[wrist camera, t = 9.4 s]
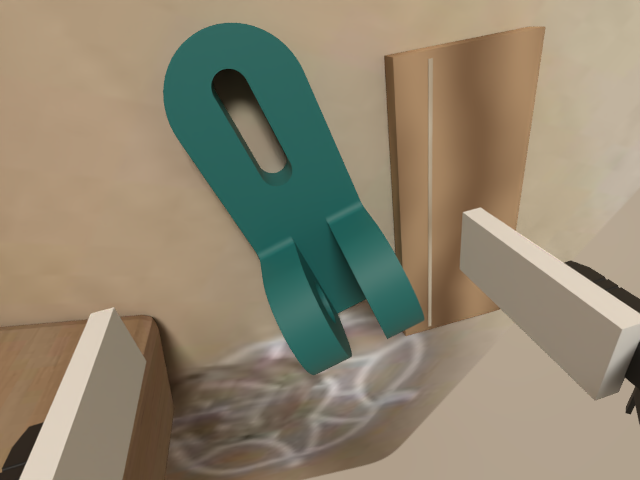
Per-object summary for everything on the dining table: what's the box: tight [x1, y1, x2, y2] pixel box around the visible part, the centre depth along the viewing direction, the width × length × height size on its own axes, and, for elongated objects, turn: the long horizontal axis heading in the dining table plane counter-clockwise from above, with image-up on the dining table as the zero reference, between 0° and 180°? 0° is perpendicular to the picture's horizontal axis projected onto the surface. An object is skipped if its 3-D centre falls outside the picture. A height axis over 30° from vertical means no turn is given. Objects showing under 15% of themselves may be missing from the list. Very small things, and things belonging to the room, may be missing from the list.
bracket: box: [163, 23, 425, 375], centre depth 19 cm, size 18×7×8 cm, turn 25°
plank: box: [385, 27, 545, 336], centre depth 25 cm, size 8×20×1 cm, turn 9°
